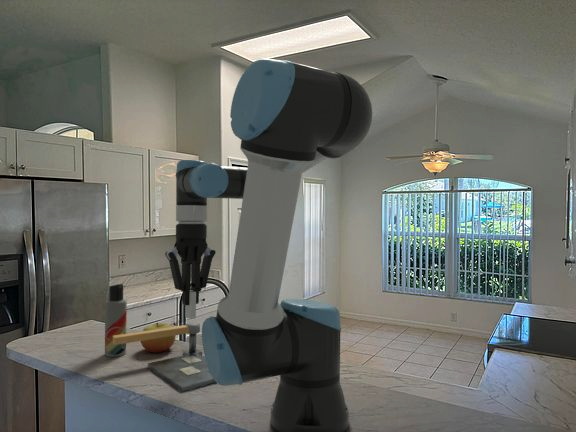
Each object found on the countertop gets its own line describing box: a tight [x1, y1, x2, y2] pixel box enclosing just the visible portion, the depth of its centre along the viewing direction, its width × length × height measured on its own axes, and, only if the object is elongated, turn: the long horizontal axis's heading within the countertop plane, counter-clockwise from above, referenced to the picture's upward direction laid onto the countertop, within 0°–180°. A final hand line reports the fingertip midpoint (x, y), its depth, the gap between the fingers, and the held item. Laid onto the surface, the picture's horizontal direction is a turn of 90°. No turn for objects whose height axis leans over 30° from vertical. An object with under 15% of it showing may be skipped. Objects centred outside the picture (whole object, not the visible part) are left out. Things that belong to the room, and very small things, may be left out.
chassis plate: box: [147, 353, 217, 393], centre depth 107 cm, size 20×14×1 cm
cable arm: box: [113, 322, 201, 345], centre depth 115 cm, size 24×4×2 cm, turn 125°
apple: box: [140, 322, 177, 353], centre depth 124 cm, size 10×10×8 cm
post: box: [182, 333, 203, 356], centre depth 120 cm, size 4×4×6 cm
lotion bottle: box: [104, 283, 128, 358], centre depth 120 cm, size 6×6×20 cm
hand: (190, 317), depth 104 cm, fingers closed
